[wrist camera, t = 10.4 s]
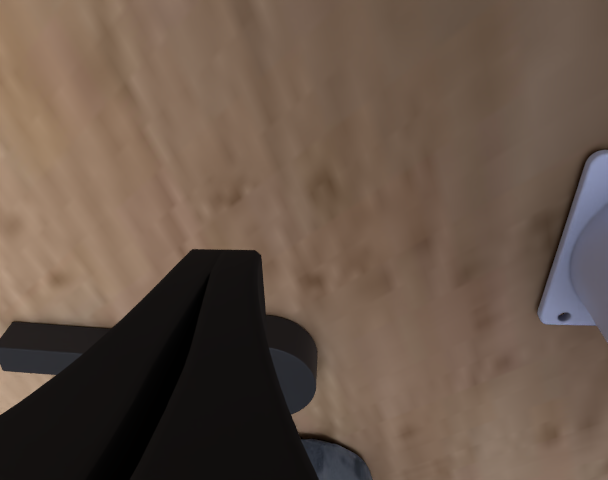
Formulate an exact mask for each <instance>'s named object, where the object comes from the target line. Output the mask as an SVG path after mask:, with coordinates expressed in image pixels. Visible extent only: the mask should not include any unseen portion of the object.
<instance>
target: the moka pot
mask: <svg viewBox="0 0 608 480" xmlns="http://www.w3.org/2000/svg"><path fill="white" fill-rule="evenodd" d="M301 441H302V443H303V445H304V448H305V450H306V452H307V454H308V456H309V459H310V461H311V463H312V465H313V467H314V469H315V472H316V474H317V476H318V478H319V480H372V477H371V474H370V471H369V469H368V467H367V465H366V464H365V462H364V461H363V460H362V459H361V458H360V457H359V456H358V455H357V454H355V453H353V452H351V451H349V450H347V449H345V448H343V447H341V446H339V445H337V444H331V443H329V442H325V441H321V440H316V439H305V440H303V439H301Z"/></svg>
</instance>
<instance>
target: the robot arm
mask: <svg viewBox="0 0 608 480" xmlns="http://www.w3.org/2000/svg"><path fill="white" fill-rule="evenodd" d="M565 312H566V313H565ZM561 313H565V314H563V315H560V314H561ZM537 315H538V317H539V319H540V320H541V322H542V323H544V324H548V325H592V326H597V327H598V328H599V330H600V332H601V333H602V335H603V337H604V338H605V340H606V341H607V343H608V150H599V151H597V152H595V153H593V154H592V155H591V156H590V157H589V158H588V159H587V161H586V163H585V166H584V169H583V172H582V175H581V178H580V181H579V185H578V188H577V191H576V194H575V197H574V200H573V203H572V206H571V209H570V212H569V215H568V219H567V222H566V225H565V228H564V231H563V234H562V237H561V240H560V243H559V246H558V249H557V253H556V256H555V259H554V262H553V265H552V268H551V271H550V274H549V277H548V280H547V283H546V286H545V290H544V293H543V296H542V299H541V302H540V305H539V308H538V312H537ZM266 327H267V323H266V310H265V298H264V285H263V272H262V259H261V255H260V254H259V253H258V252H257V251H255V250H205V249H192V250H191V251H190V252H189V253H188V254H187V255H186V256H185V257H184V258H183V259H182V260H181V261H180V262H179V263H178V264H177V265H176V266H175V267H174V268H173V269H172V270H171V271H170V272H169V273H168V274H167V275H166V276H165V277H164V278H163V279H162V280H161V281H160V282H159V283H158V284H157V285H156V286H155V287H154V288H153V289H152V290H151V291H150V292H149V293H148V294H147V295H146V296H145V297H144V298H143V299H142V300H141V301H140V302H139V303H138V304H137V305H136V306H135V307H134V308H133V309H132V310H131V311H130V312H129V313H128V314H127V315H126V316H125V317H124V318H123V319H122V320H121V321H119V322H118V323H117V324H116V325H115V326H114V327H113V328H112V329H111V330H110V331H108V332H107V333H106V334H105V335H104V336H103V337H102V338H100V339H99V340H98V341H97V342H96V343H95V344H94V345H92V346H91V347H90V348H89V349H88V350H87V351H86V352H85V353H83V354H82V355H81V356H80V357H79V358H77V359H76V360H75V361H74V362H72V363H71V364H70V365H69V366H67V367H66V368H65V369H64V370H62V371H61V372H60V373H59V374H57V375H56V376H55V377H53V378H52V379H51V380H49V381H48V382H46V383H45V384H44V385H42V386H41V387H40V388H38V389H37V390H36V391H34V392H33V393H32V394H30V395H29V396H28V397H26V398H25V399H23V400H22V401H21V402H19V403H18V404H16V405H15V406H13V407H12V408H10V409H9V410H7V411H6V412H4V413H3V414H1V415H0V480H319V478H318V476H317V474H316V472H315V469H314V467H313V465H312V463H311V461H310V459H309V456H308V454H307V452H306V450H305V448H304V445H303V443H302V441H301V439H300V436H299V434H298V431H297V429H296V426H295V424H294V421H293V419H292V416H291V414H290V411H289V409H288V406H287V403H286V400H285V398H284V395H283V392H282V389H281V386H280V383H279V380H278V377H277V374H276V371H275V368H274V364H273V361H272V357H271V354H270V350H269V346H268V343H267V338H266Z"/></svg>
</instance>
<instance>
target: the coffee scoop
mask: <svg viewBox="0 0 608 480" xmlns="http://www.w3.org/2000/svg"><path fill="white" fill-rule="evenodd" d="M266 323H267V327H266V338H267V343H268V346H269V350H270V354H271V357H272V361H273V364H274V368H275V371H276V374H277V377H278V380H279V383H280V386H281V389H282V392H283V395H284V398H285V400H286V403H287V406H288V409H289V411H290V414H294V413H296V412H298V411H300V410H301V409H303V408H304V407H305V406H307V405H308V404H309V402H310V401H311V400H312V398H313V397H314V394H315V391H316V377H317V348H316V345H315V342H314V340H313V339H312V337H311V336H310V335H309V333H308V332H307V331H306V330H305V329H303V328H302V327H301V326H299V325H297V324H296V323H294V322H292V321H289V320H287V319H284V318H280V317H276V316H268V315H266ZM110 330H111V329H103V328H89V327H76V326H62V325H49V324H35V323H22V322H12V324H11V325H10V326H9V328H8V329H7V330H6V331H5V333H4V334H3V335H2V337H1V338H0V364H1V367H2V369H3V371H11V372H24V373H38V374H51V375H57V374H59V373H60V372H61V371H62V370H64V369H65V368H66V367H67V366H69V365H70V364H71V363H72V362H74V361H75V360H76V359H77V358H79V357H80V356H81V355H82V354H83V353H85V352H86V351H87V350H88V349H89V348H90V347H91V346H92V345H94V344H95V343H96V342H97V341H98V340H99V339H100V338H102V337H103V336H104V335H105V334H106V333H107V332H108V331H110Z"/></svg>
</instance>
